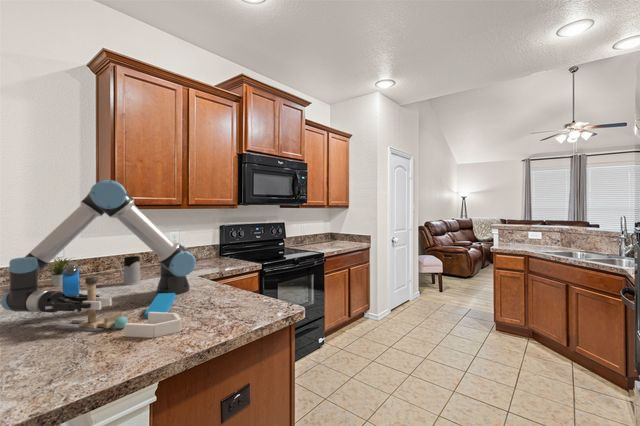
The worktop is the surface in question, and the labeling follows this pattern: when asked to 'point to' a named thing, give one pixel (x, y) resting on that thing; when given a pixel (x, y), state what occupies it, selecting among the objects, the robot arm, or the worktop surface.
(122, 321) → the ball
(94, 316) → the plunger
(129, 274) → the glass holder
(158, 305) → the blue long block
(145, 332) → the pocket
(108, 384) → the worktop surface
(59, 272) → the house plant
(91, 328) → the track
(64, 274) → the alarm clock
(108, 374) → the worktop surface
